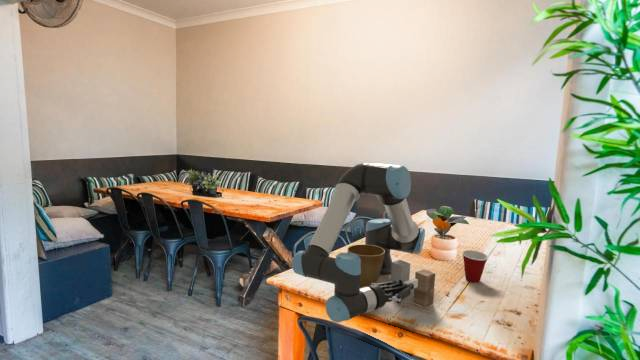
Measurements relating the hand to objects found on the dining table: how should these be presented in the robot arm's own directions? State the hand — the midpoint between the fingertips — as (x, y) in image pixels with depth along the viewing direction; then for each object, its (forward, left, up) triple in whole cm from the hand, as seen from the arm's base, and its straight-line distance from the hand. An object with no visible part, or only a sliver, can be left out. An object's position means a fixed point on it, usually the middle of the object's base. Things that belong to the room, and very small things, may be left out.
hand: (416, 282), depth 130 cm
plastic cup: (+13, +42, -10) cm, 45 cm away
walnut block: (+2, +5, -9) cm, 11 cm away
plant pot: (-22, +5, -10) cm, 25 cm away
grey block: (-9, +10, -9) cm, 17 cm away
